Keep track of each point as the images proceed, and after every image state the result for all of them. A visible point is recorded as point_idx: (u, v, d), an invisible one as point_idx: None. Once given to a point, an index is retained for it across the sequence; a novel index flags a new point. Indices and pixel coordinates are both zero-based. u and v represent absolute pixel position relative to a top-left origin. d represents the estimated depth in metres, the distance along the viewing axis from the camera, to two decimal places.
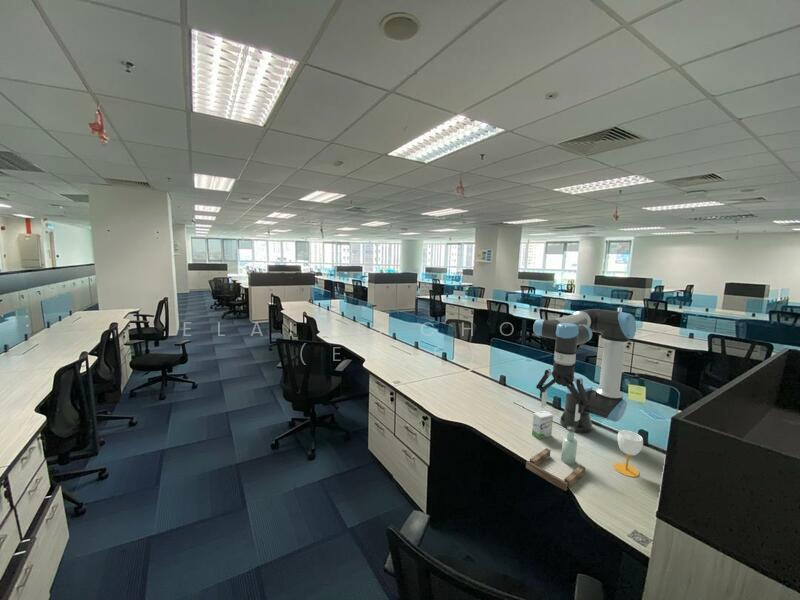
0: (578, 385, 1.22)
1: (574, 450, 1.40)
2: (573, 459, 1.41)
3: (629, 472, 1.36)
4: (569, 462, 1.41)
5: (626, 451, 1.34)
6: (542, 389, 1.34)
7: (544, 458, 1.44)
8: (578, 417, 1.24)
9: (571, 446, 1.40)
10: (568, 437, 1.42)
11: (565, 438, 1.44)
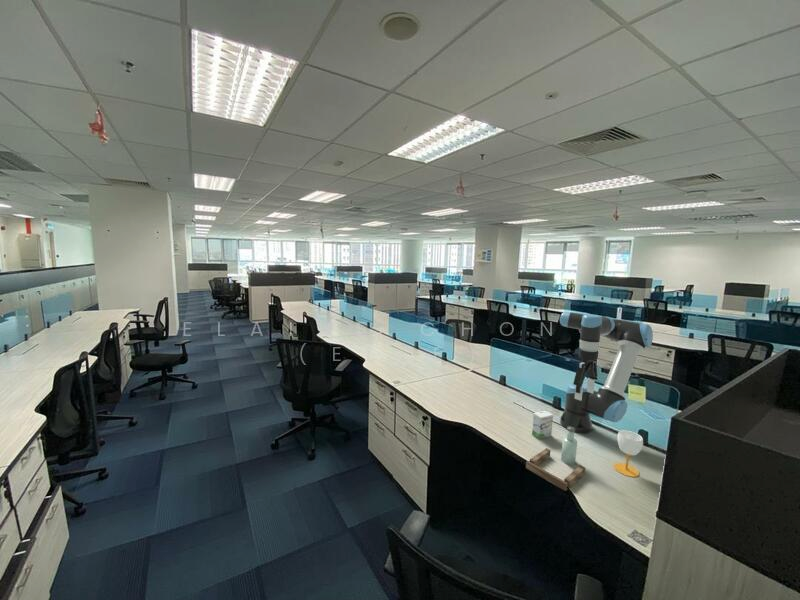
0: None
1: (574, 450, 1.40)
2: (573, 459, 1.41)
3: (629, 472, 1.36)
4: (569, 462, 1.41)
5: (626, 451, 1.34)
6: None
7: (544, 458, 1.44)
8: (577, 397, 1.42)
9: (571, 446, 1.40)
10: (568, 437, 1.42)
11: (565, 438, 1.44)
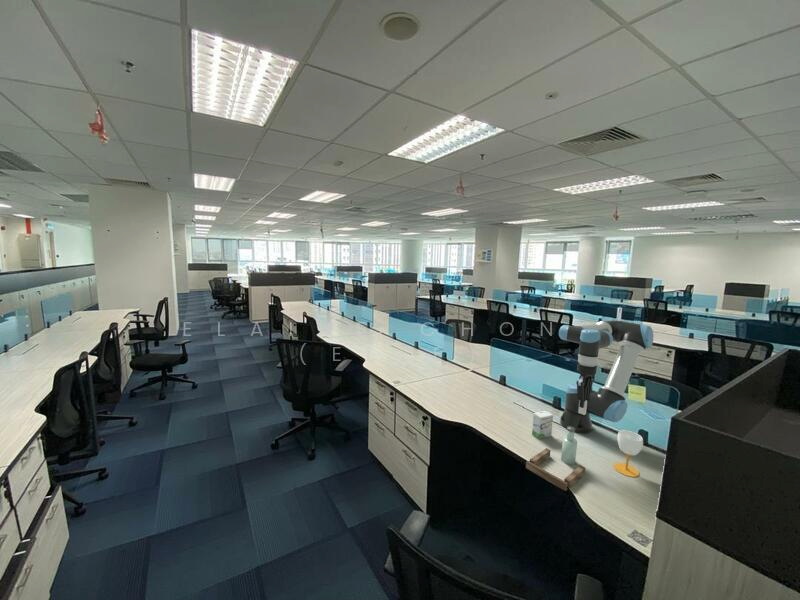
0: None
1: (574, 450, 1.40)
2: (573, 459, 1.41)
3: (629, 472, 1.36)
4: (569, 462, 1.41)
5: (626, 451, 1.34)
6: None
7: (544, 458, 1.44)
8: (581, 411, 1.46)
9: (571, 446, 1.40)
10: (568, 437, 1.42)
11: (565, 438, 1.44)
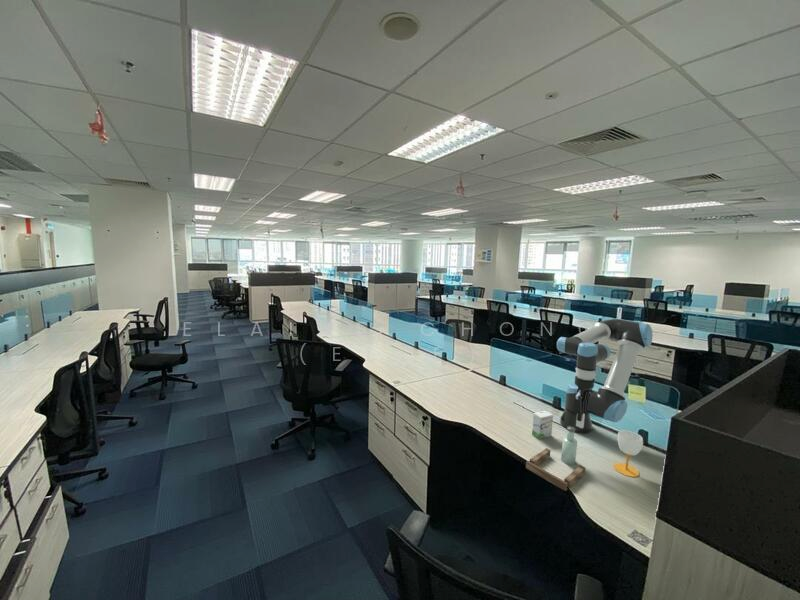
0: None
1: (574, 450, 1.40)
2: (573, 459, 1.41)
3: (629, 472, 1.36)
4: (569, 462, 1.41)
5: (626, 451, 1.34)
6: None
7: (544, 458, 1.44)
8: (579, 424, 1.47)
9: (571, 446, 1.40)
10: (568, 437, 1.42)
11: (565, 438, 1.44)
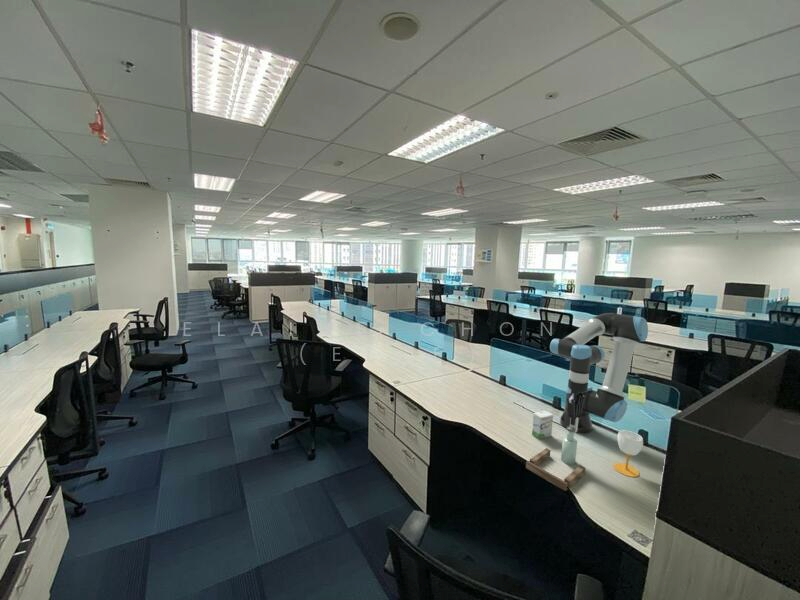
0: None
1: (574, 450, 1.40)
2: (573, 459, 1.41)
3: (629, 472, 1.36)
4: (569, 462, 1.41)
5: (626, 451, 1.34)
6: None
7: (544, 458, 1.44)
8: None
9: (571, 446, 1.40)
10: (567, 437, 1.42)
11: (565, 438, 1.44)
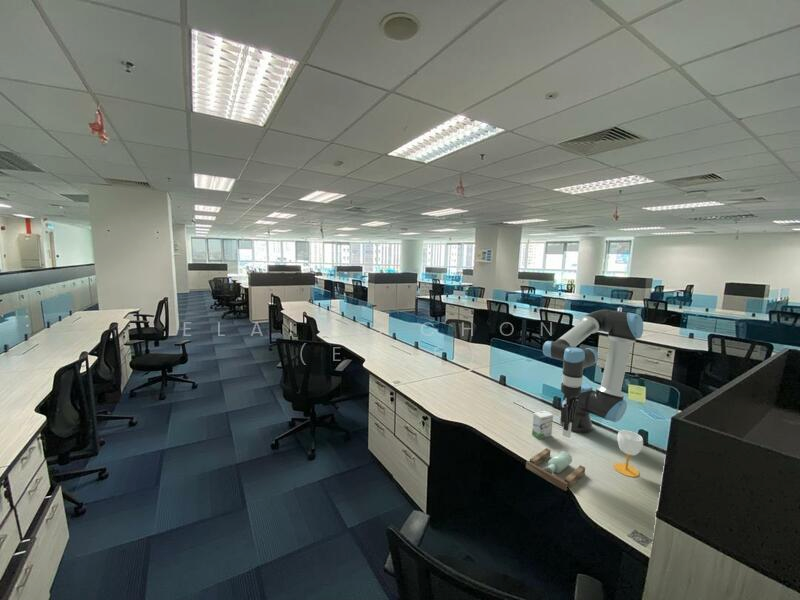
0: None
1: (564, 468, 1.36)
2: (568, 464, 1.39)
3: (629, 472, 1.36)
4: None
5: (626, 451, 1.34)
6: None
7: (544, 458, 1.44)
8: (565, 434, 1.39)
9: None
10: None
11: (550, 465, 1.37)
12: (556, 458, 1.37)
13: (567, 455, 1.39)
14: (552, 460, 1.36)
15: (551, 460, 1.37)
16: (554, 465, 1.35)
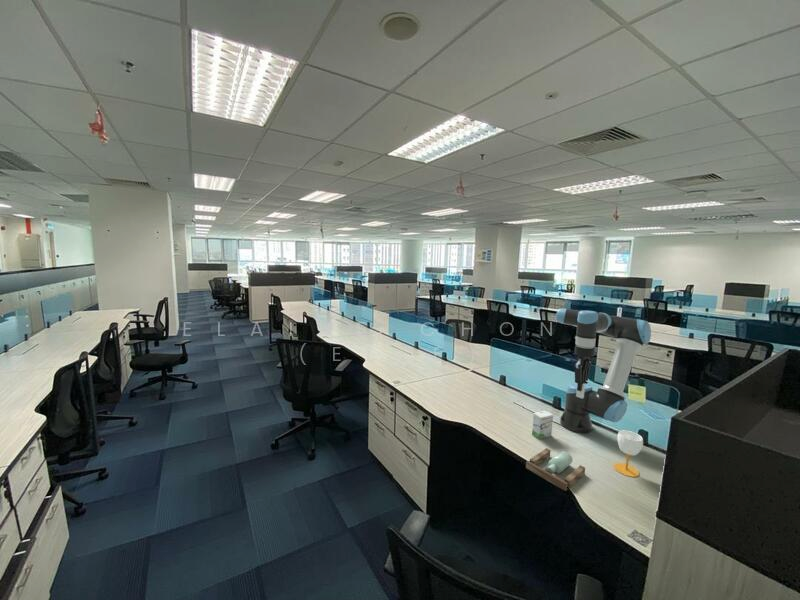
0: None
1: None
2: (568, 465, 1.39)
3: (629, 472, 1.36)
4: None
5: (626, 451, 1.34)
6: None
7: (544, 458, 1.44)
8: (579, 395, 1.43)
9: None
10: None
11: (550, 464, 1.37)
12: (557, 458, 1.36)
13: (568, 456, 1.39)
14: (553, 460, 1.36)
15: (552, 460, 1.36)
16: (555, 465, 1.34)
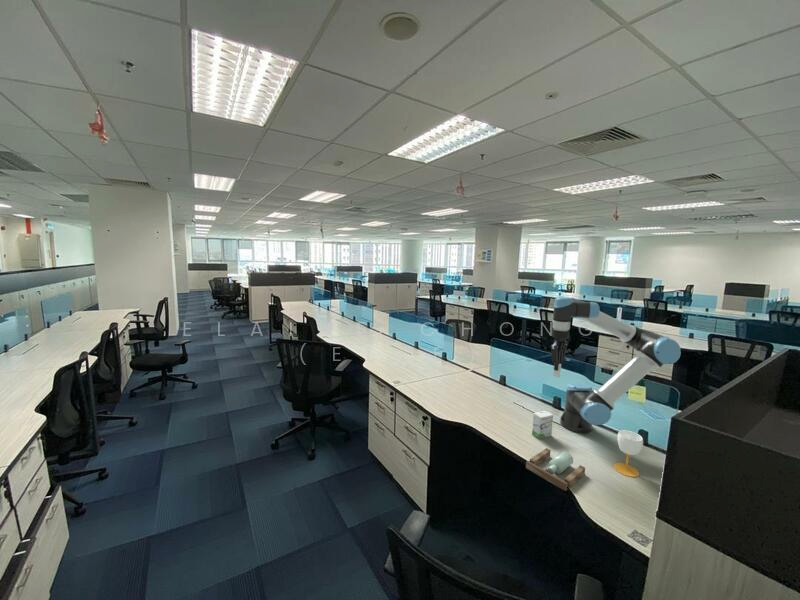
0: None
1: (564, 469, 1.36)
2: (569, 465, 1.38)
3: (629, 472, 1.36)
4: None
5: (626, 451, 1.34)
6: None
7: (544, 458, 1.44)
8: (556, 374, 1.57)
9: None
10: None
11: (551, 464, 1.37)
12: (558, 459, 1.36)
13: (569, 457, 1.39)
14: (554, 461, 1.36)
15: (553, 461, 1.36)
16: (556, 466, 1.34)
